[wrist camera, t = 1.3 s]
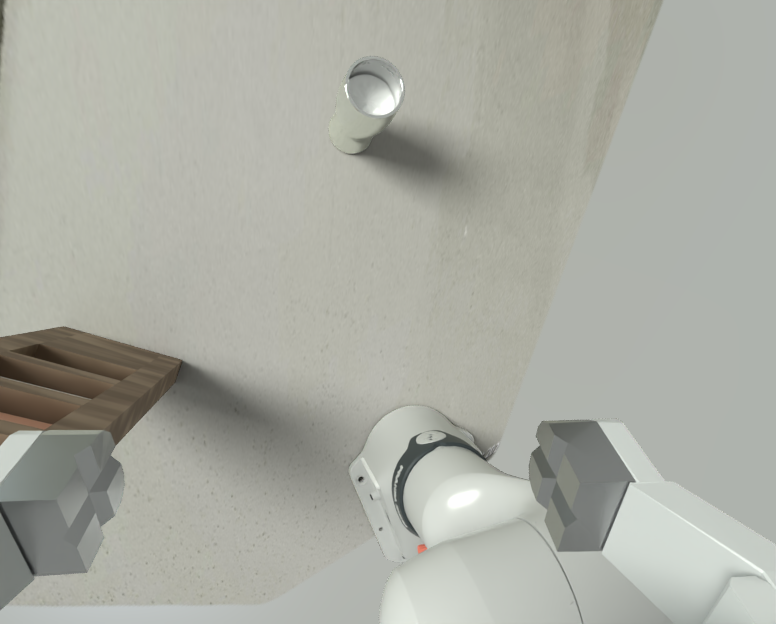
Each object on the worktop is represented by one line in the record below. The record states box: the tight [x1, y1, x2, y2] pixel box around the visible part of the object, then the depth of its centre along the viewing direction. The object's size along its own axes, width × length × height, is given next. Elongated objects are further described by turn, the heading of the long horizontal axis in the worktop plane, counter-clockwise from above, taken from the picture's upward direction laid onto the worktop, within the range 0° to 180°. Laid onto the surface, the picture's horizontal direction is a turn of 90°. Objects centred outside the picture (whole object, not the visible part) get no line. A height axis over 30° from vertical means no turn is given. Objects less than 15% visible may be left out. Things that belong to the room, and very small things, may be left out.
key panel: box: [0, 326, 182, 446], centre depth 43 cm, size 3×14×37 cm, turn 71°
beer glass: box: [328, 56, 405, 154], centre depth 59 cm, size 7×7×15 cm
